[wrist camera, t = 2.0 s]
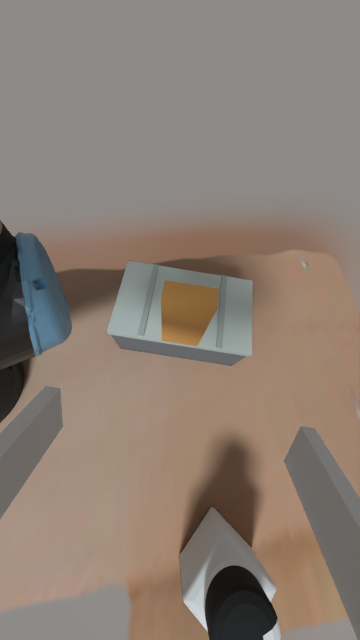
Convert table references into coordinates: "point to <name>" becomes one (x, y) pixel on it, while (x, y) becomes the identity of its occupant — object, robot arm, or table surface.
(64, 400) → the table surface
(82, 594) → the table surface
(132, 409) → the table surface
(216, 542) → the medicine bottle
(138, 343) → the tub
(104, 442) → the table surface
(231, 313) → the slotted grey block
